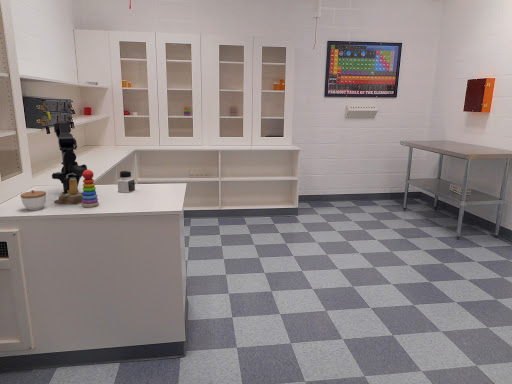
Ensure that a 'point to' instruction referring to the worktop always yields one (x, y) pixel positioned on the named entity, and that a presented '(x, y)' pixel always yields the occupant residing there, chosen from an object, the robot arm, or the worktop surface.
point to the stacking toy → (89, 190)
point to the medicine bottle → (126, 182)
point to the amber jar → (72, 186)
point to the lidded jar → (34, 199)
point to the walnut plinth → (70, 198)
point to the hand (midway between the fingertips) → (72, 189)
